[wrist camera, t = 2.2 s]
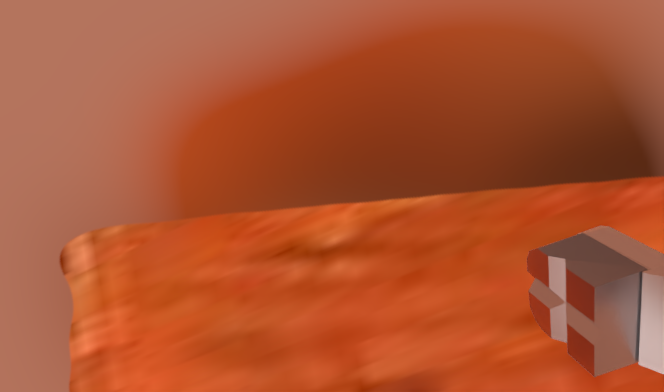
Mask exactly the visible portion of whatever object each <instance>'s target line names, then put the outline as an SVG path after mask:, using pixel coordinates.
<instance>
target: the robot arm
mask: <svg viewBox="0 0 664 392" xmlns="http://www.w3.org/2000/svg"><path fill="white" fill-rule="evenodd" d="M527 271H528V272H529V273H530V274H531V275H532V276H533V277H534V278H535V280H534V282H533V284H532V286H531V287H530V289H529V301H530V307H531V310H532V312H533V315H534V317H535V320H536V321H537V323H538V324H539V326H540V327H541V329H542V330H543V331H544V332H545V333H546V334H547V335H548V336H550V337H551V338H552V339H556V340H559V341H562V342H566V343H567V348H568V354H569V355H570V356H572V357H573V358H574V359H575V360H576V361H577V362H578V363H579V364H581V365H582V366H583V367H584V368H585V369H586V370H587V371H588V372H589V373H591V374H592V375H593V376H594V377H596V376H599V375H602V374H605V373H607V372H610V371H613V370H616V369H619V368H622V367H625V366H628V365H631V364H634V363H637V362H639V365H641V366H644V367H646V368H649V369H651V370H654V371H657V372H659V373H662V374H664V254H662V253H660V252H658V251H656V250H654V249H652V248H650V247H648V246H646V245H645V244H643V243H641V242H639V241H637V240H635V239H633V238H631V237H629V236H627V235H625V234H623V233H621V232H619V231H617V230H615V229H613V228H611V227H608V226H598V227H595V228H593V229H590V230H587V231H584V232H582V233H579V234H577V235H575V236H572V237H569V238H566V239H563V240H560V241H557V242H554V243H551V244H548V245H545V246H542V247H539V248H536V249H533V250H531V251H529V254H528V257H527Z"/></svg>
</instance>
